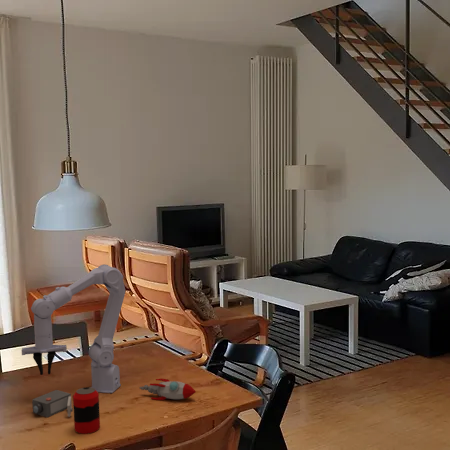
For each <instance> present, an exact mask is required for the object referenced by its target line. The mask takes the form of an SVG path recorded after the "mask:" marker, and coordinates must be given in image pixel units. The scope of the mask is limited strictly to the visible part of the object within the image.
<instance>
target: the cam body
mask: <svg viewBox="0 0 450 450" xmlns="http://www.w3.org/2000/svg"><path fill="white" fill-rule="evenodd" d="M69 396H71V397H72V394H71V393H69V392H66V391H62V390H58V389H55V390H52V391H50V392H48V393H45V394H42V395H40V396H37V397H34V398H33V399H32V400H31V401H32V413H33V414H35V415H38V416H41V417H43V418H50V417H52V416H54V415H56V414H58V413H61V412H63V411H65V410H67V404H68V397H69Z"/></svg>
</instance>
